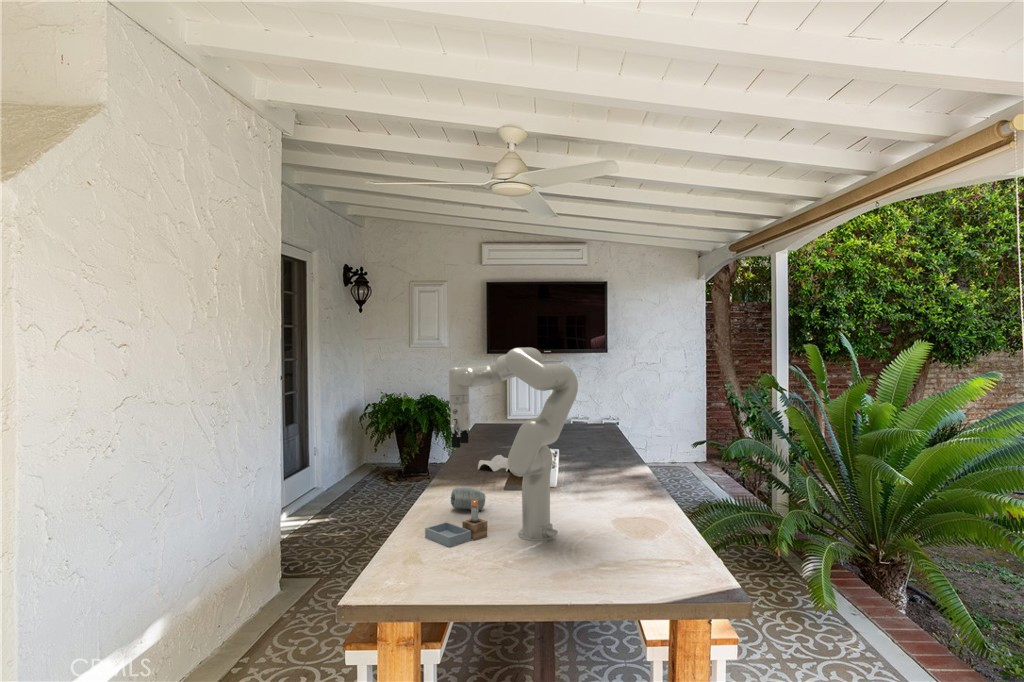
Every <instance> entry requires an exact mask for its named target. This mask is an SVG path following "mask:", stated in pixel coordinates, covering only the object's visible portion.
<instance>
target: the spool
mask: <svg viewBox="0 0 1024 682" xmlns="http://www.w3.org/2000/svg"><path fill="white" fill-rule="evenodd" d="M471 500H478V512H479V511H482V510H483V509H484V507H485V504H486V493H485V492H484V491H483V490H481V489H478V488H473V487H466V486H465V487H463V486H462V487H459V486H458V487H455V488H453V489H452V492H451V494H450V504H451V507H452V508H454V509H463V510H471Z"/></svg>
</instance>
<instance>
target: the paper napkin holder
mask: <svg viewBox="0 0 1024 682" xmlns="http://www.w3.org/2000/svg"><path fill="white" fill-rule="evenodd" d="M482 465H486V466H489V468H490V469H491V470H492V472H496V471H499V470H500V469H505V471H506V472H508V470H509V467H508V457H504V456H503V455H502V454H496V455H495V456H494V457H492V458H491V460H483V459H480V460H479V461H478V465H477V470H480V468H481V466H482Z"/></svg>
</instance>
